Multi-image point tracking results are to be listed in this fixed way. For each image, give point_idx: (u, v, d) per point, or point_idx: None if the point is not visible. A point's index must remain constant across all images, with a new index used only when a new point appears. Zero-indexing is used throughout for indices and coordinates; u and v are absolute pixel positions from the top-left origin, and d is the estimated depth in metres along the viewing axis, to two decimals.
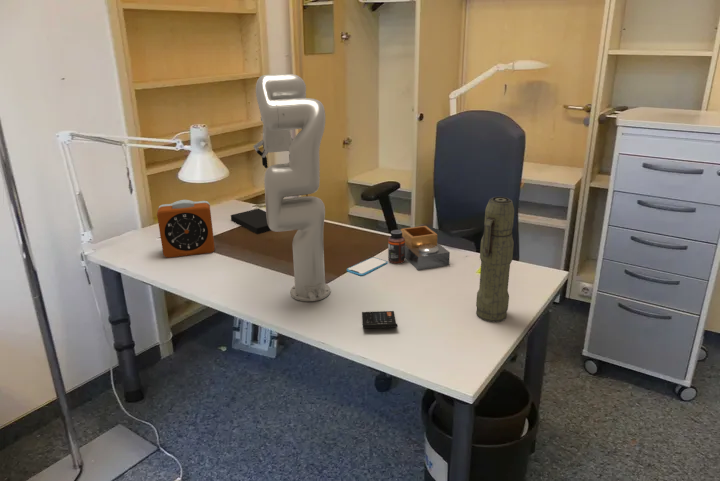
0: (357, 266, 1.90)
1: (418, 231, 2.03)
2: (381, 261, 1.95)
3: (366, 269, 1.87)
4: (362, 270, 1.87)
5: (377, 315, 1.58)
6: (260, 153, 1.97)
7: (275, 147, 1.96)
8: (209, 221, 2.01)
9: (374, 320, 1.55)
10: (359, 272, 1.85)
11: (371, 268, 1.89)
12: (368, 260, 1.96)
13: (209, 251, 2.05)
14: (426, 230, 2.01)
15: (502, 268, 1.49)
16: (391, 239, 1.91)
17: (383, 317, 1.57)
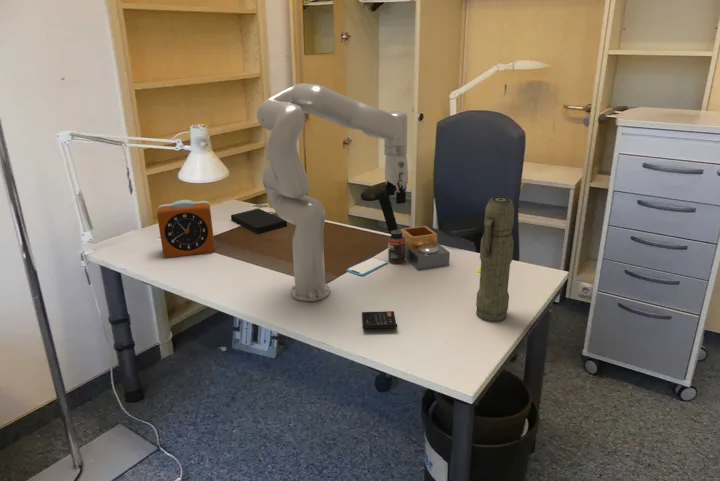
0: (357, 266, 1.90)
1: (418, 231, 2.03)
2: (381, 261, 1.95)
3: (366, 270, 1.87)
4: (363, 270, 1.87)
5: (377, 315, 1.58)
6: None
7: None
8: (209, 221, 2.01)
9: (374, 320, 1.55)
10: (359, 272, 1.85)
11: (371, 268, 1.88)
12: (368, 260, 1.96)
13: (209, 251, 2.05)
14: (426, 230, 2.01)
15: (502, 268, 1.49)
16: (391, 239, 1.91)
17: (383, 317, 1.57)
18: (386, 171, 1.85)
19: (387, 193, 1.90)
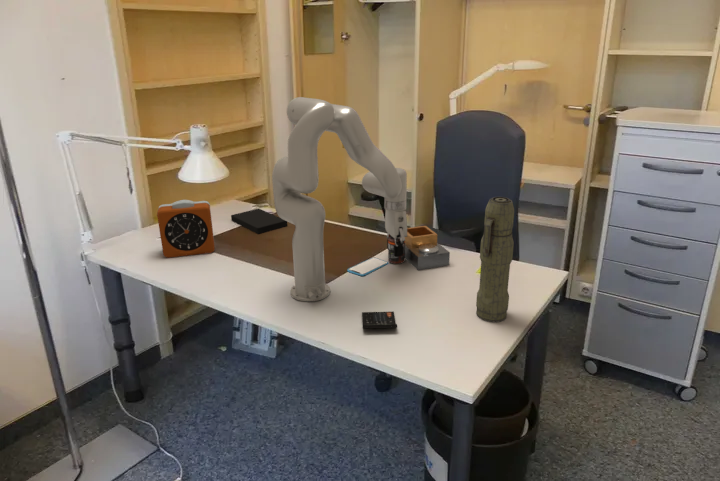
0: (357, 266, 1.90)
1: (418, 231, 2.03)
2: (382, 261, 1.94)
3: (366, 270, 1.87)
4: (363, 270, 1.87)
5: (377, 315, 1.58)
6: None
7: None
8: (209, 221, 2.01)
9: (374, 320, 1.55)
10: (360, 272, 1.85)
11: (372, 268, 1.88)
12: (368, 260, 1.96)
13: (209, 251, 2.05)
14: (426, 230, 2.01)
15: (502, 268, 1.49)
16: (391, 239, 1.91)
17: (383, 317, 1.57)
18: (386, 223, 1.92)
19: None
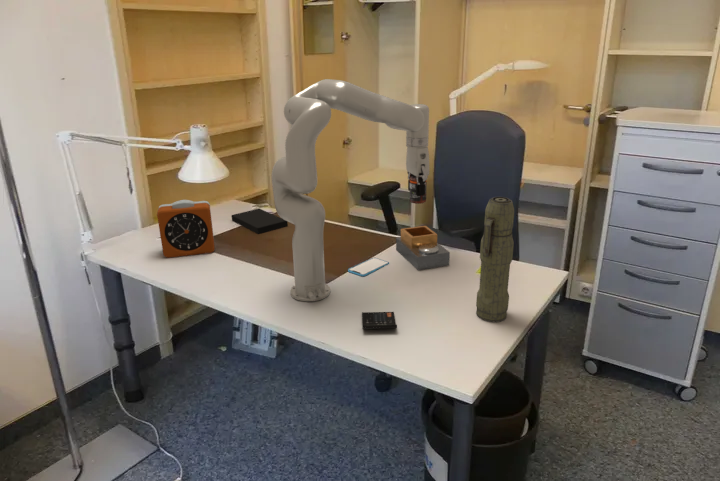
0: (358, 267, 1.90)
1: (418, 231, 2.03)
2: (382, 262, 1.94)
3: (367, 270, 1.87)
4: (364, 270, 1.87)
5: (377, 316, 1.58)
6: None
7: None
8: (209, 221, 2.01)
9: (374, 321, 1.55)
10: (360, 273, 1.85)
11: (372, 269, 1.88)
12: (369, 260, 1.95)
13: (209, 251, 2.05)
14: (426, 230, 2.01)
15: (502, 268, 1.49)
16: (413, 178, 1.88)
17: (383, 318, 1.56)
18: (407, 163, 1.89)
19: None
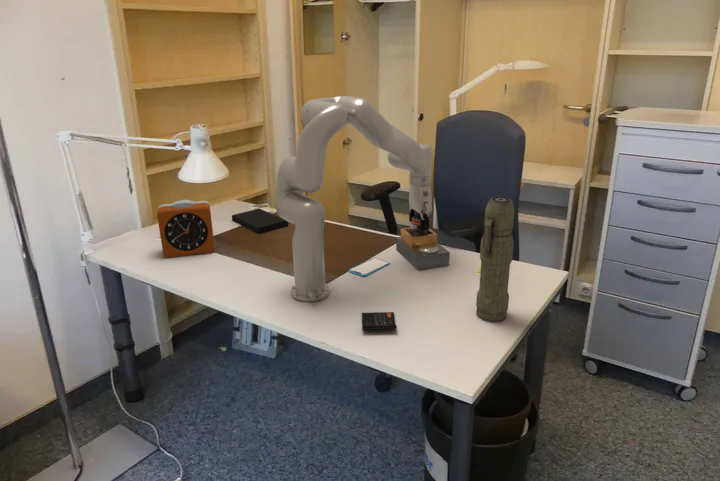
0: (359, 267, 1.89)
1: None
2: (383, 262, 1.94)
3: (368, 270, 1.87)
4: (365, 271, 1.86)
5: (377, 316, 1.58)
6: None
7: None
8: (209, 221, 2.01)
9: (374, 321, 1.55)
10: (361, 273, 1.85)
11: (373, 269, 1.88)
12: (370, 260, 1.95)
13: (209, 251, 2.05)
14: None
15: (502, 268, 1.49)
16: (414, 219, 1.95)
17: (383, 318, 1.56)
18: (410, 199, 1.95)
19: (411, 219, 2.00)
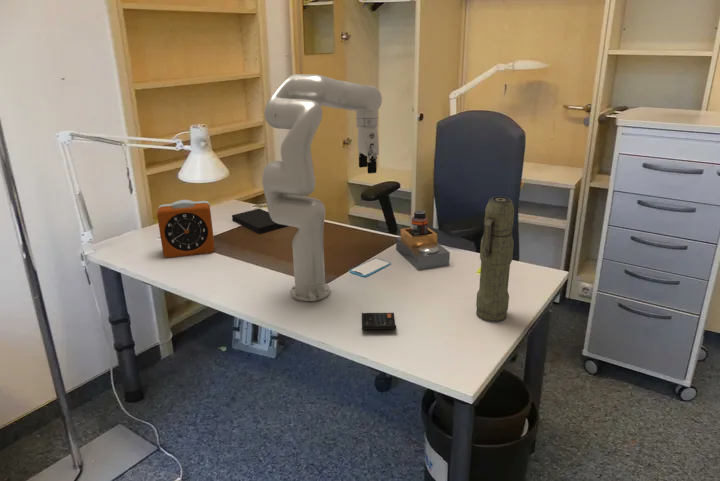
0: (360, 267, 1.89)
1: None
2: (384, 262, 1.94)
3: (369, 271, 1.86)
4: (366, 271, 1.86)
5: (377, 316, 1.57)
6: None
7: None
8: (209, 221, 2.01)
9: (374, 321, 1.55)
10: (362, 273, 1.84)
11: (374, 269, 1.88)
12: (371, 261, 1.95)
13: (209, 251, 2.05)
14: None
15: (502, 268, 1.49)
16: (414, 219, 1.95)
17: (383, 318, 1.56)
18: (358, 143, 1.96)
19: (360, 165, 2.01)
